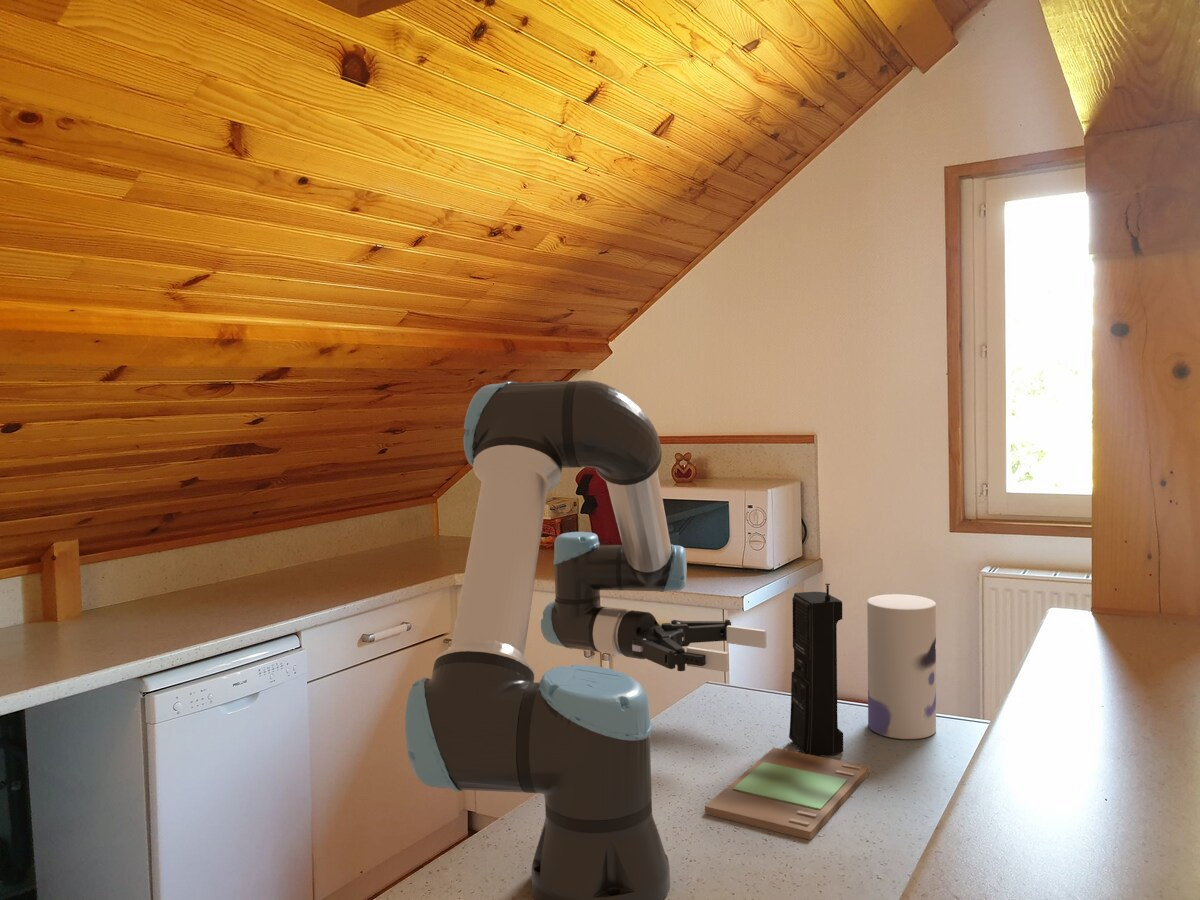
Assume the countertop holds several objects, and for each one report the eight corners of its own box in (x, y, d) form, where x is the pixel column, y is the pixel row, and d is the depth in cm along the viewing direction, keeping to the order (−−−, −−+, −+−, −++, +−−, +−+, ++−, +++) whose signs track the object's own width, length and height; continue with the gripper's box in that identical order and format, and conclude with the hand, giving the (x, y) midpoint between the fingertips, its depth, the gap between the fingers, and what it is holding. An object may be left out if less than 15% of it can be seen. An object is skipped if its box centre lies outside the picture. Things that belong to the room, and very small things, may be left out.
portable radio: (785, 738, 147) (782, 575, 145) (822, 735, 148) (821, 573, 146) (805, 758, 139) (802, 586, 137) (844, 754, 140) (843, 584, 138)
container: (940, 741, 144) (940, 609, 142) (870, 738, 146) (869, 607, 144) (931, 718, 154) (931, 593, 152) (865, 715, 156) (865, 592, 154)
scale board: (810, 840, 115) (810, 830, 115) (704, 813, 123) (704, 804, 123) (869, 773, 133) (869, 765, 133) (774, 754, 141) (773, 746, 141)
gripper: (665, 637, 169) (779, 653, 157) (585, 676, 148) (710, 699, 136) (664, 594, 168) (779, 607, 157) (583, 628, 147) (709, 646, 136)
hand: (747, 650), depth 147 cm, fingers open, 13 cm apart
